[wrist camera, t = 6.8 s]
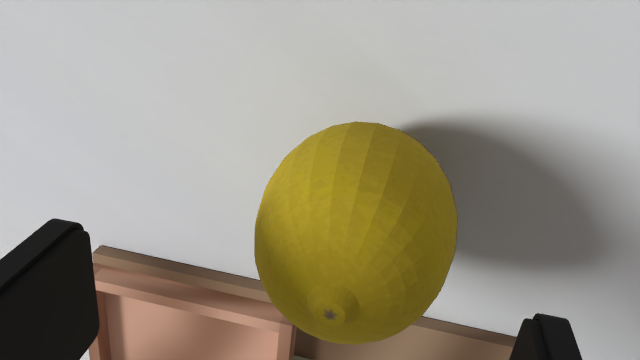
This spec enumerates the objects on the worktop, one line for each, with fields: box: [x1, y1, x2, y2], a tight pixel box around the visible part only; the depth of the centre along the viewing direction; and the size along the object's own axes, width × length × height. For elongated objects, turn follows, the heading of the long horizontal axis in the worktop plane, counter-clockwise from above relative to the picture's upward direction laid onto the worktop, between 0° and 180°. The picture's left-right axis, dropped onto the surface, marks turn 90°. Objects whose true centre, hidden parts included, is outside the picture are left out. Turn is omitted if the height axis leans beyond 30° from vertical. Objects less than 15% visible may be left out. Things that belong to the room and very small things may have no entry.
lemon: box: [255, 122, 457, 345], centre depth 15 cm, size 6×6×8 cm
